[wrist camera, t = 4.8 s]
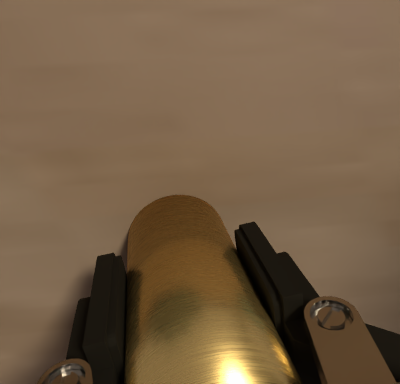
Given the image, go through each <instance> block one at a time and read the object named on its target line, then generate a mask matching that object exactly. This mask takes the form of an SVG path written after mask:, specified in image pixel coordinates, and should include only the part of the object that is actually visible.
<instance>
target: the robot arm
mask: <svg viewBox="0 0 400 384" xmlns="http://www.w3.org/2000/svg"><path fill="white" fill-rule="evenodd" d="M235 241H236V249H237V252H238V254H239V256H240V258H241V260H242V262H243V264H244V266H245V268H246V270H247V272H248V274H249V276H250V278H251V280H252V282H253V284H254V286H255V288H256V290H257V292H258V294H259V296H260V298H261V300H262V302H263V304H264V306H265V308H266V310H267V312H268V314H269V316H270V318H271V320H272V322H273V324H274V326H275V328H276V330H277V332H278V334H279V336H280V338H281V340H282V342H283V344H284V346H285V348H286V350H287V352H288V354H289V356H290V358H291V360H292V362H293V364H294V366H295V368H296V370H297V372H298V375H299V377H300V379H301V381H302V383H303V384H400V334H397V333H394V332H390V331H387V330H384V329H381V328H378V327H375V326H371V325H368V324H365V323H364V322H363V320H362V318H361V316H360V314H359V312H358V311H357V310H356V308H355V307H354V306H353V305H352V304H350V303H349V302H347V301H345V300H343V299H341V298H337V297H332V296H323V297H319V295H318V294H317V293H316V291H315V290H314V288H313V287H312V286H311V284H310V283H309V282H308V280H307V279H306V277H305V276H304V275H303V273H302V272H301V271H300V269H299V268H298V267H297V265H296V264H295V262H294V261H293V260H292V258H291V257H290V256H289V254H288V253H287V252H282V253H277V254H276V252H275V251H274V249H273V248H272V246H271V245H270V243H269V242H268V240H267V239H266V237H265V236H264V234H263V233H262V231H261V230H260V228H259V227H258V226H257V224H256V223H255V222H251V223H246V224H242V225H239V229H237V230H235ZM126 291H127V274H126V271H125V267H124V264H123V260H122V257H121V256H115V254H114V253H110V254H106V255H101V256H98V257H97V261H96V267H95V273H94V279H93V285H92V291H91V297H88V298H83V299H80V300H79V301H78V304H77V309H76V314H75V318H74V323H73V328H72V333H71V337H70V342H69V347H68V352H67V357H66V360H64V361H61V362H59V363H57V364H55V365H54V366H52V367H51V368H50V369H48V370H47V371H46V372H45V373H44V374H43V375H42V376H41V378H40V379H39V381H38V382H37V384H124V368H125V330H126Z"/></svg>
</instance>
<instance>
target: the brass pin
mask: <svg viewBox="0 0 400 384" xmlns="http://www.w3.org/2000/svg"><path fill="white" fill-rule="evenodd" d="M124 384H303V383H302V381H301V379H300V377H299V375H298V372H297V370H296V368H295V366H294V364H293V362H292V360H291V358H290V356H289V354H288V352H287V350H286V348H285V346H284V344H283V342H282V340H281V338H280V336H279V334H278V332H277V330H276V328H275V326H274V324H273V322H272V320H271V318H270V316H269V314H268V312H267V310H266V308H265V306H264V304H263V302H262V300H261V298H260V296H259V294H258V292H257V290H256V288H255V286H254V284H253V282H252V280H251V278H250V276H249V274H248V272H247V270H246V268H245V266H244V264H243V262H242V260H241V258H240V256H239V254H238V252H237V250H236V248H235V246H234V244H233V242H232V240H231V238H230V236H229V234H228V232H227V230H226V228H225V226H224V224H223V222H222V220H221V218H220V216H219V214H218V213H217V212H216V210H215V209H214V208H213V207H212V206H211V205H209V204H208V203H207V202H205V201H203V200H201V199H199V198H196V197H192V196H188V195H172V196H167V197H163V198H160V199H158V200H155V201H154V202H152V203H150V204H148V205H147V206H146V207H144V208H143V209H142V210H141V211H140V212H139V213H138V215H137V216H136V217H135V219H134V220H133V222H132V224H131V227H130V230H129V233H128V253H127V291H126V330H125V368H124Z"/></svg>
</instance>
